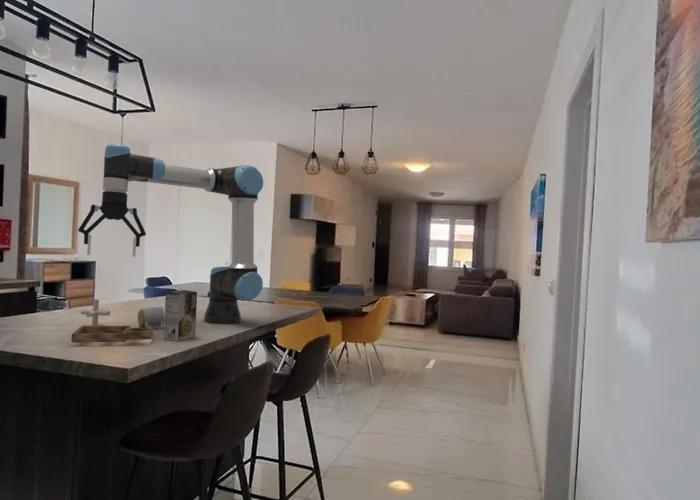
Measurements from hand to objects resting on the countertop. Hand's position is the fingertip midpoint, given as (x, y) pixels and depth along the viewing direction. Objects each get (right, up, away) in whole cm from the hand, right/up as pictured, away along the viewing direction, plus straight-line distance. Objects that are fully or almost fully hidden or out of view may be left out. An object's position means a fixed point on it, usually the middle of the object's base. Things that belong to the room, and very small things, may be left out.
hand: (111, 255), depth 166 cm
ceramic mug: (+5, -28, +23) cm, 36 cm away
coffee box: (+21, -29, +5) cm, 36 cm away
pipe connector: (-15, -27, +19) cm, 36 cm away
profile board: (+3, -28, -4) cm, 28 cm away
